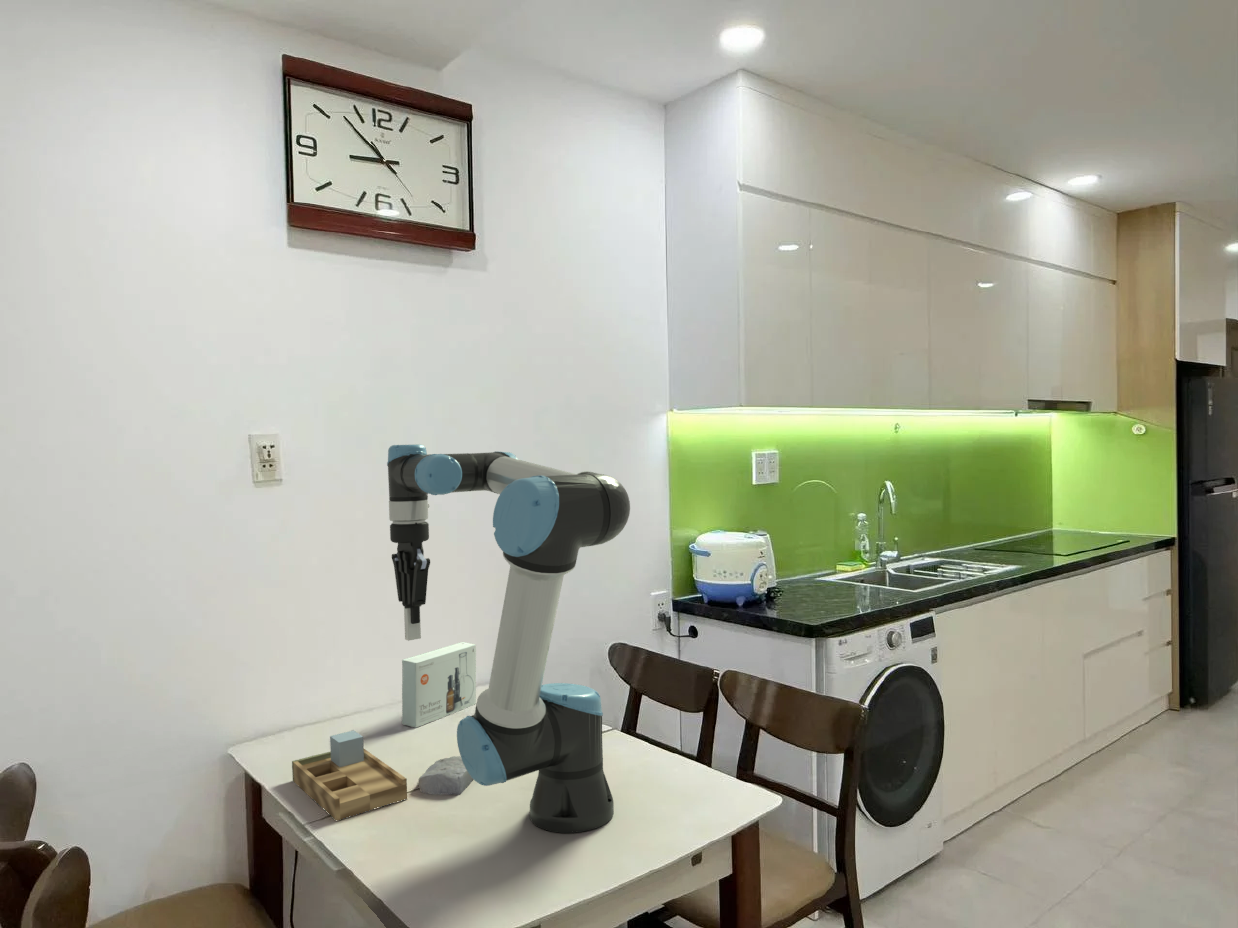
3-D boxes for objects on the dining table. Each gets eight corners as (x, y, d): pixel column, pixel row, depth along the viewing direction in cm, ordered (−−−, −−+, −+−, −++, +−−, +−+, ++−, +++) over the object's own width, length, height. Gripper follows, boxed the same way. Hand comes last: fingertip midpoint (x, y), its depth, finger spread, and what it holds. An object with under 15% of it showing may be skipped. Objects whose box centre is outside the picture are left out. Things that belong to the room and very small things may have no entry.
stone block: (416, 803, 163) (464, 795, 161) (411, 778, 163) (459, 770, 161) (439, 780, 175) (484, 773, 173) (435, 757, 175) (480, 750, 173)
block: (364, 760, 172) (363, 736, 172) (339, 767, 169) (339, 742, 169) (354, 753, 176) (353, 730, 176) (330, 759, 173) (330, 735, 173)
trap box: (407, 799, 160) (406, 778, 160) (335, 821, 152) (335, 799, 151) (358, 762, 179) (358, 744, 179) (292, 780, 170) (292, 760, 170)
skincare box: (417, 729, 199) (415, 662, 199) (401, 725, 202) (399, 659, 202) (478, 704, 217) (476, 643, 216) (462, 701, 220) (461, 640, 219)
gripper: (441, 522, 166) (445, 641, 166) (412, 518, 176) (416, 630, 177) (405, 525, 161) (409, 647, 162) (378, 521, 171) (381, 636, 172)
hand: (412, 638), depth 169 cm, fingers closed
